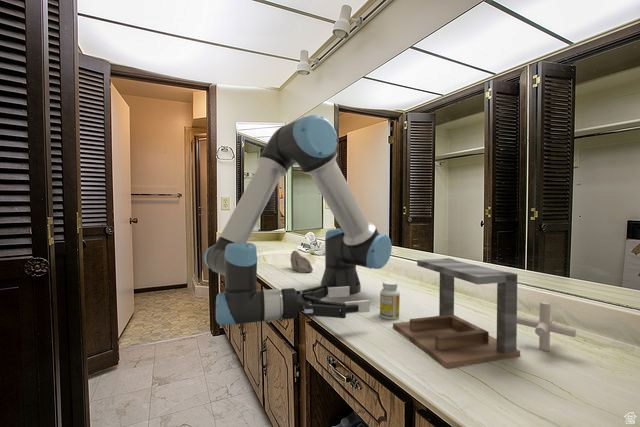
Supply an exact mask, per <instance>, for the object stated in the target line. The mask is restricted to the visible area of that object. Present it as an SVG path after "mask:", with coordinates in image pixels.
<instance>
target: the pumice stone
mask: <svg viewBox="0 0 640 427" xmlns="http://www.w3.org/2000/svg"><path fill="white" fill-rule="evenodd" d="M290 266H291V268H292V269H293V270H295V271H297V272H298V273H300V272H301V274H303V273H304V274H306V273H310V272H311V273H312V272H313V269H314V268H313V267H312V263H311V261H309V259H308V258H306V257H304V256H302V255H301V253H300V252H298V251H297V250H293V251H292V252H291V253H290Z"/></svg>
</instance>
